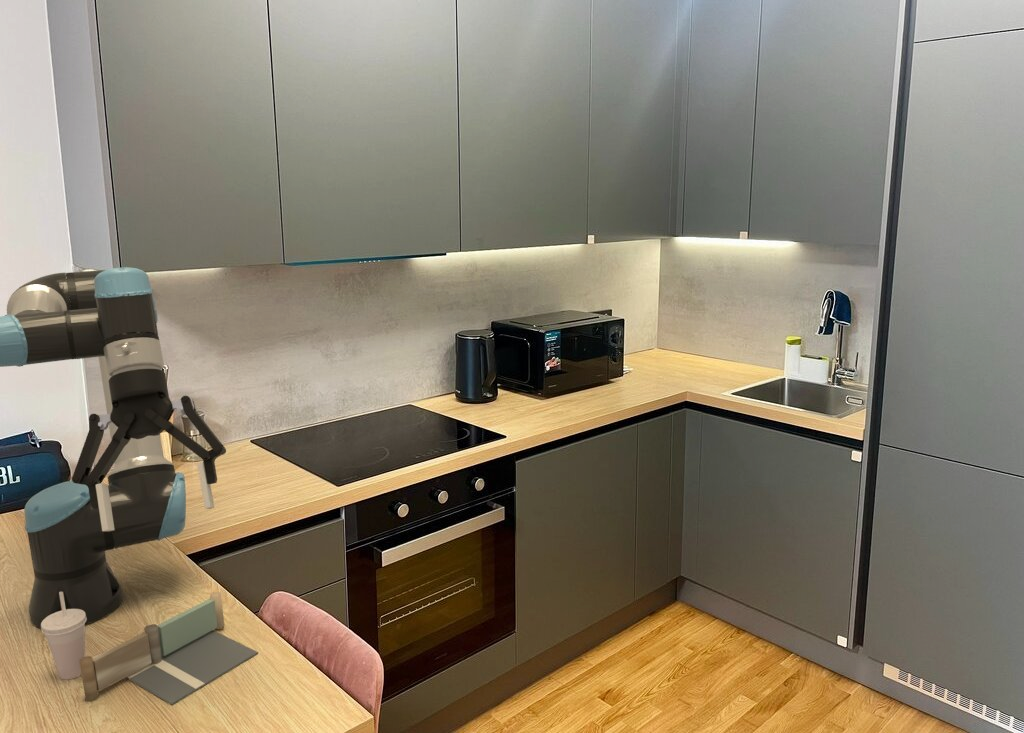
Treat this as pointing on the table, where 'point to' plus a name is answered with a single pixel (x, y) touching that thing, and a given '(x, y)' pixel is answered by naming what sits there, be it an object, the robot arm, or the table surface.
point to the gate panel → (191, 624)
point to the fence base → (120, 661)
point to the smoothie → (66, 639)
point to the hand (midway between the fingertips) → (159, 519)
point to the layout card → (191, 666)
